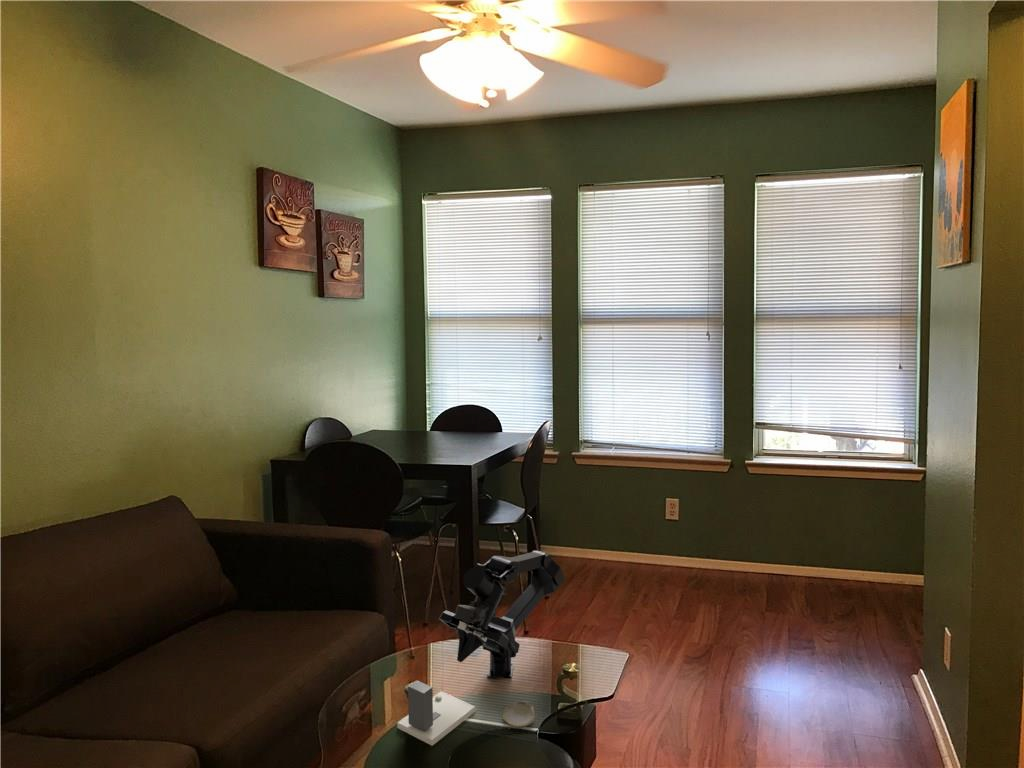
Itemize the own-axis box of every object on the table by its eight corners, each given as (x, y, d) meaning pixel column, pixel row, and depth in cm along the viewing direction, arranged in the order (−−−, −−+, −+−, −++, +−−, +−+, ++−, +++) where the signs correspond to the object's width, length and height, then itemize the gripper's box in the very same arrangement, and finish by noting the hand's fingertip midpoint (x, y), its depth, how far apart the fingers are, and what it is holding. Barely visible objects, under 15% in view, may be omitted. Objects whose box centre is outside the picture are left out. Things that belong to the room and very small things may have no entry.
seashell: (499, 728, 198) (525, 734, 193) (495, 718, 197) (521, 723, 192) (518, 707, 204) (543, 712, 199) (515, 697, 203) (540, 701, 198)
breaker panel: (441, 696, 207) (441, 689, 207) (475, 711, 201) (475, 704, 200) (397, 728, 194) (397, 720, 194) (432, 745, 188) (432, 738, 188)
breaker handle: (417, 717, 195) (416, 680, 193) (432, 725, 192) (432, 687, 190) (408, 723, 193) (407, 686, 191) (424, 731, 190) (423, 693, 188)
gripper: (443, 581, 207) (415, 638, 201) (502, 602, 197) (474, 664, 191) (462, 597, 216) (436, 653, 209) (520, 618, 205) (494, 678, 199)
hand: (459, 661), depth 202 cm, fingers closed
